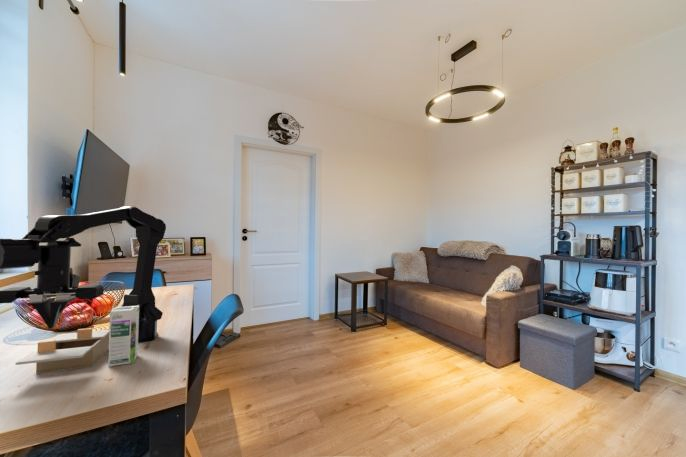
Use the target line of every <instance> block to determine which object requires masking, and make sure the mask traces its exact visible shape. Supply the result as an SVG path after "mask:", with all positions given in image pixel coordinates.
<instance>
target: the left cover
mask: <svg viewBox="0 0 686 457" xmlns="http://www.w3.org/2000/svg"><path fill="white" fill-rule="evenodd" d="M92 347H93V346H88V347H78V348H68V349H58V350H55V349H56V340H52V339H51V340H43V341H42V340H40V341H39V342H37V350H36V351H32V352H29V353H28V354H27V355H26V356H24V357H22V358H21V359H19V360H17V361H16V362H15V365H17V366H18V365H19V366H20V365H26V364H37V362H46V361H55V360H64V359H72V358H81V357H83V356H84V355H85V354H86V353H87V352H88V351H90V350H91V349H92Z"/></svg>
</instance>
